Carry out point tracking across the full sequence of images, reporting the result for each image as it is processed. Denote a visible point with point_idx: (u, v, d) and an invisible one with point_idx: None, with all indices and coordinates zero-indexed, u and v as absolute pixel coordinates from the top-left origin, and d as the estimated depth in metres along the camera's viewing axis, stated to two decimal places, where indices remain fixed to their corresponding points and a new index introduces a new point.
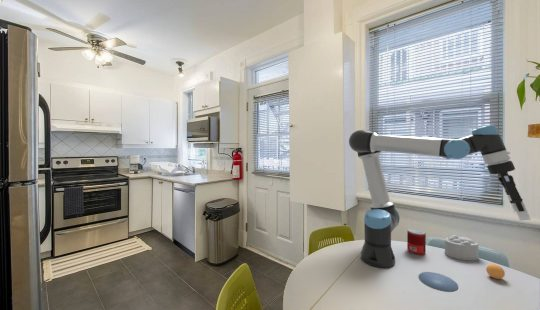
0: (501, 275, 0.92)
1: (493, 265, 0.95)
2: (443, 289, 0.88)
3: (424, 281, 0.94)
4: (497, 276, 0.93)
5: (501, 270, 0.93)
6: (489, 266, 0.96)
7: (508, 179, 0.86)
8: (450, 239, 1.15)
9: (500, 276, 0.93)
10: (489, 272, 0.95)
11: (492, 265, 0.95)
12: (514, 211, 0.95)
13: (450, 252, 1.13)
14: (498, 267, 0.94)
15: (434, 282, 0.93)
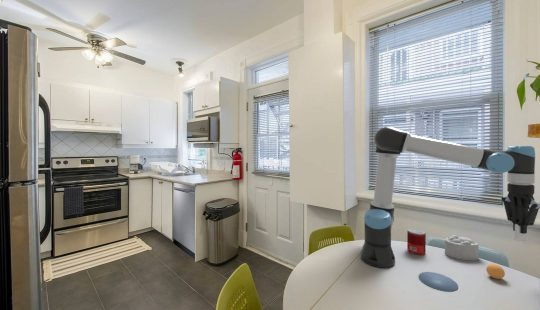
0: (501, 275, 0.92)
1: (493, 265, 0.95)
2: (443, 289, 0.88)
3: (424, 281, 0.94)
4: (497, 276, 0.93)
5: (501, 270, 0.93)
6: (489, 266, 0.96)
7: (538, 207, 0.89)
8: (450, 239, 1.15)
9: (500, 276, 0.93)
10: (489, 272, 0.95)
11: (492, 265, 0.95)
12: None
13: (450, 252, 1.13)
14: (498, 267, 0.94)
15: (434, 282, 0.93)
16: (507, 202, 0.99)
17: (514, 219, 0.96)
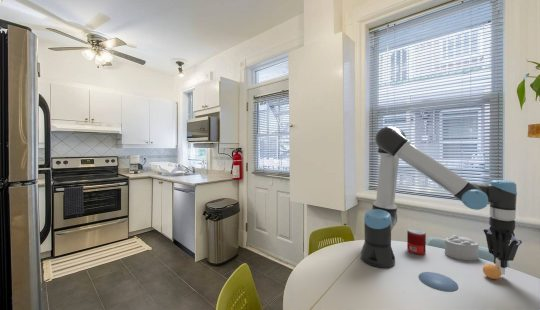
0: (497, 276, 0.92)
1: (487, 267, 0.95)
2: (443, 289, 0.88)
3: (424, 281, 0.94)
4: (494, 277, 0.93)
5: (496, 271, 0.93)
6: (484, 268, 0.96)
7: (518, 244, 0.89)
8: (450, 239, 1.15)
9: (497, 277, 0.93)
10: (486, 275, 0.95)
11: (487, 266, 0.95)
12: None
13: (450, 252, 1.13)
14: (492, 268, 0.94)
15: (434, 282, 0.93)
16: (489, 235, 0.99)
17: (495, 253, 0.96)
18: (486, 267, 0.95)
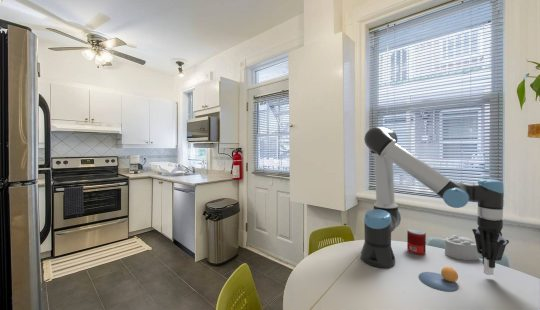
0: (454, 279, 0.91)
1: (444, 271, 0.93)
2: (443, 289, 0.88)
3: (424, 281, 0.94)
4: (452, 281, 0.92)
5: (452, 274, 0.91)
6: (442, 273, 0.94)
7: (505, 244, 0.89)
8: (450, 239, 1.15)
9: (454, 280, 0.91)
10: (445, 279, 0.94)
11: (443, 271, 0.94)
12: (485, 273, 0.95)
13: (451, 252, 1.13)
14: (448, 272, 0.92)
15: (434, 282, 0.93)
16: (477, 234, 0.98)
17: (483, 252, 0.96)
18: (443, 272, 0.94)
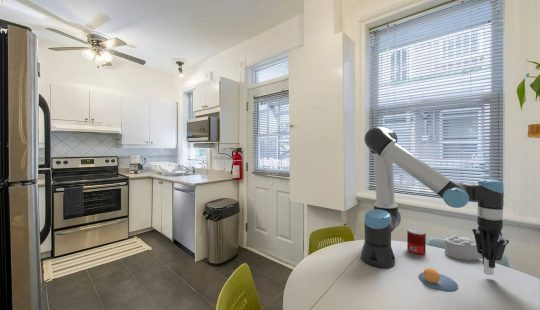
0: (437, 278, 0.90)
1: None
2: (443, 289, 0.88)
3: (424, 281, 0.94)
4: (437, 275, 0.91)
5: (436, 282, 0.91)
6: None
7: (505, 244, 0.89)
8: (450, 239, 1.15)
9: (437, 277, 0.91)
10: None
11: None
12: (485, 273, 0.95)
13: (451, 252, 1.13)
14: None
15: None
16: (477, 234, 0.98)
17: (483, 252, 0.96)
18: None
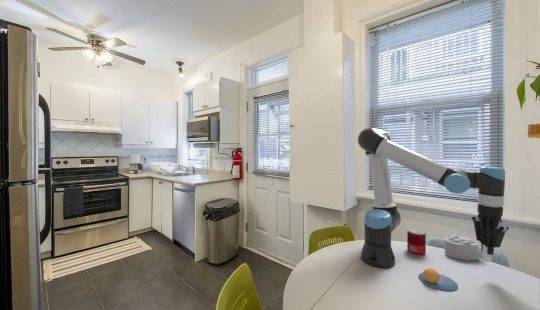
0: (437, 278, 0.90)
1: None
2: (443, 289, 0.88)
3: (424, 281, 0.94)
4: (437, 275, 0.91)
5: (436, 282, 0.91)
6: None
7: (504, 230, 0.88)
8: (450, 239, 1.15)
9: (437, 277, 0.91)
10: None
11: None
12: (483, 260, 0.95)
13: (451, 252, 1.13)
14: None
15: None
16: (477, 222, 0.98)
17: (482, 240, 0.96)
18: None
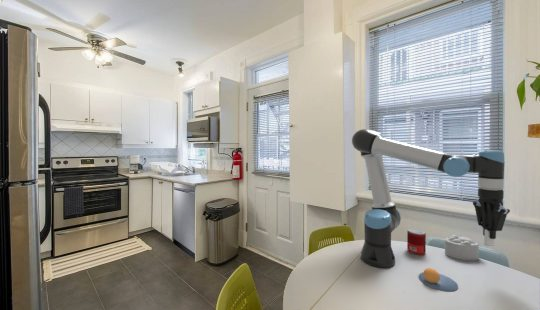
0: (437, 278, 0.90)
1: None
2: (443, 289, 0.88)
3: (424, 281, 0.94)
4: (437, 275, 0.91)
5: (436, 282, 0.91)
6: None
7: (506, 213, 0.88)
8: (450, 239, 1.15)
9: (437, 277, 0.91)
10: None
11: None
12: None
13: (451, 252, 1.13)
14: None
15: None
16: (478, 207, 0.98)
17: (484, 224, 0.95)
18: None
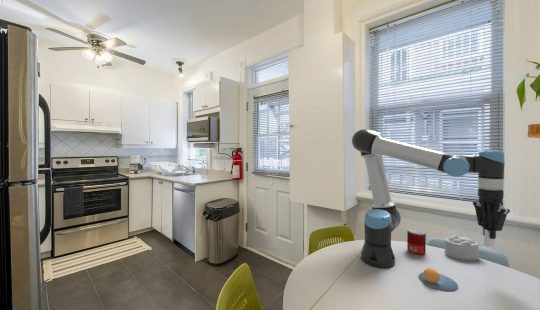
0: (437, 278, 0.90)
1: None
2: (443, 289, 0.88)
3: (424, 281, 0.94)
4: (437, 275, 0.91)
5: (436, 282, 0.91)
6: None
7: (506, 213, 0.88)
8: (450, 239, 1.15)
9: (437, 277, 0.91)
10: None
11: None
12: None
13: (451, 252, 1.13)
14: None
15: None
16: (478, 207, 0.98)
17: (484, 224, 0.95)
18: None
